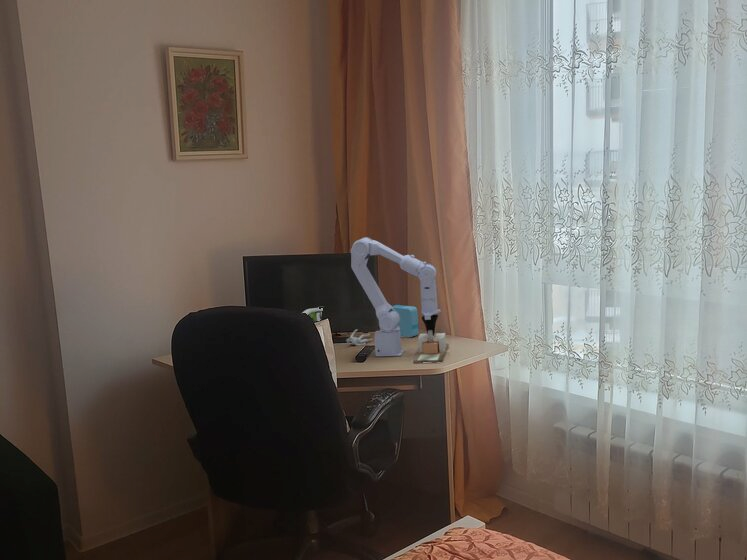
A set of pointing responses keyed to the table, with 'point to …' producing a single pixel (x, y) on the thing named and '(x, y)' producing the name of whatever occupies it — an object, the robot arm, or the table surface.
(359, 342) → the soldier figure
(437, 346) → the sled block
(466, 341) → the table surface
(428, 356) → the walnut board
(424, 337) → the grey tunnel
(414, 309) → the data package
